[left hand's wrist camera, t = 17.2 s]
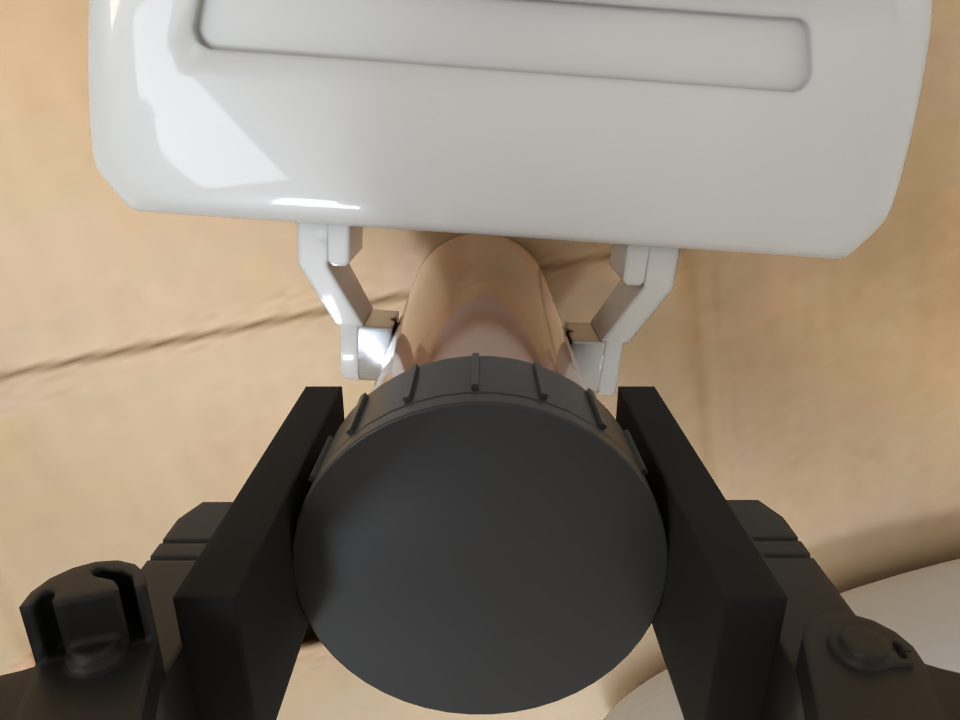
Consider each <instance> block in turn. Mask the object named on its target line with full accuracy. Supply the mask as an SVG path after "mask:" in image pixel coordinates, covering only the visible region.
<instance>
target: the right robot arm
mask: <svg viewBox="0 0 960 720" xmlns="http://www.w3.org/2000/svg"><path fill="white" fill-rule="evenodd" d="M931 23H932V0H89V20H88V92H89V115H90V130H91V143H92V151H93V157H94V161H95V165H96V168H97V170H98V172H99V173H100V174H101V176H102V177H103V178H104V179H105V181H106V182H107V183H108V184H109V185H110V187H111V188H112V189H113V190H114V192H115V193H116V194H117V195H118V196H119V197H120V199H121V200H122V201H123V202H124V203H125V204H126V205H127V206H128V207H129V208H131V209H133V210H135V211H140V212H151V213H166V214H181V215H195V216H210V217H225V218H239V219H254V220H269V221H284V222H297V229H298V264H299V265H300V267H301V269H302V270H303V272H304V274H305V275H306V277H307V278H308V280H309V282H310V283H311V285H312V286H313V288H314V290H315V291H316V293H317V295H318V296H319V298H320V299H321V301H322V303H323V304H324V306H325V307H326V309H327V311H328V312H329V314H330V316H331V317H332V319H333V320H334V322H335V324H338V325H340V333H341V375H342V378H343V379H350V380H376V379H377V377H378V374H379V371H380V369H381V366H382V364H383V361H384V359H385V356H386V353H387V351H388V348H389V346H390V343H391V340H392V338H393V335H394V333H395V330H396V328H397V325H398V322H399V311H387V310H376V309H372V308H373V307H372V306H371V304H370V302H369V300H368V298H367V296H366V294H365V293H364V291H363V289H362V287H361V285H360V283H359V281H358V279H357V278H356V276H355V274H354V272H353V270H352V268H351V266H350V265H349V262H350V261H351V260H352V259H353V258H354V257H355V255H356V254H357V253H358V252H359V251H360V250H361V249H362V234H363V227H372V228H387V229H401V230H416V231H431V232H446V233H460V234H475V235H490V236H505V237H519V238H534V239H549V240H564V241H578V242H593V243H608V244H612V249H611V257H610V266H611V267H612V268H613V269H614V271H615V272H616V273H617V274H618V275H619V276H620V277H621V279H622V280H621V281H620V283H619V284H618V285H617V287H616V288H615V289H614V291H613V292H612V294H611V295H610V296H609V298H608V299H607V300H606V302H605V303H604V305H603V306H602V307H601V309H600V310H599V311H598V313H597V314H596V316H595V317H594V318H593V320H592V321H591V323H569V322H565V326H564V329H565V332H566V334H567V337H568V340H569V342H570V345H571V347H572V350H573V353H574V355H575V358H576V360H577V363H578V365H579V368H580V371H581V373H582V376H583V378H584V381H585V384H586V386H587V389H588V388H590V389H591V390H593V391H594V394H595V395H608V396H612V395H614V393H615V390H616V386H617V379H618V373H619V366H620V359H621V353H622V346H623V343H628V342H629V341H630V339H631V338H632V337H633V336H634V335H635V333H636V332H637V331H638V330H639V329H640V327H641V326H642V325H643V324H644V323H645V321H646V320H647V319H648V318H649V317H650V315H651V314H652V313H653V312H654V311H655V309H656V308H657V307H658V306H659V305H660V303H661V302H662V301H663V300H664V299H665V297H666V296H667V295H668V294H669V293H670V291H671V290H672V288H673V283H674V277H675V272H676V266H677V260H678V255H679V249H680V248H681V249H696V250H711V251H726V252H740V253H755V254H770V255H784V256H799V257H814V258H829V259H839V258H844V257H846V256H848V255H849V254H851V253H852V252H853V251H854V250H856V249H857V248H858V247H859V246H860V245H861V244H862V243H863V242H865V241H866V240H867V239H868V238H869V237H870V236H871V235H872V234H873V233H874V232H875V231H876V230H877V229H878V228H879V227H880V226H881V225H882V224H883V223H884V221H885V220H886V218H887V217H888V214H889V212H890V210H891V208H892V205H893V202H894V199H895V196H896V193H897V190H898V186H899V183H900V179H901V176H902V172H903V168H904V164H905V160H906V156H907V152H908V148H909V144H910V140H911V136H912V131H913V127H914V122H915V118H916V113H917V108H918V103H919V98H920V93H921V88H922V83H923V78H924V72H925V66H926V60H927V54H928V47H929V40H930V33H931Z"/></svg>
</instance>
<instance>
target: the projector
mask: <svg viewBox="0 0 960 720" xmlns="http://www.w3.org/2000/svg"><path fill="white" fill-rule="evenodd" d="M840 595H841V596H842V597H843V599H844V600H845V601H846V603H847V604H848V605H849V607H850V608H851V610H852V611H853V612H854V614H855V615H857V616H860V617H863V618H867V619H870V620H873V621H875V622H877V623H879V624H881V625H883V626H885V627H887V628H889V629H891V630H893V631H895V632H896V633H897V634H899V635H900V636H901V637H902V638H903V639H905V640H906V641H907V642H908V643H909V644H911V645H912V646H913V647H914V649H915V650H916V652H917V653H918V654H919V656H920V657H921V659H922V660H923V662H924V664H927V665H931V666H934V667H937V668H941V669H945V670H949V671H954V672H958V673H960V559H956V560H952V561H947V562H943V563H940V564H936V565H932V566H928V567H925V568H921V569H917V570H914V571H910V572H906V573H902V574H899V575H896V576H892V577H889V578H886V579H883V580H879V581H876V582H873V583H870V584H866V585H863V586H860V587H857V588H854V589H851V590H848V591H845V592H842V593H840ZM604 720H684V717H683V714H682V711H681V708H680V705H679V702H678V699H677V696H676V693H675V691H674V688H673V685H672V682H671V679H670V676H669V673H668V670H667V669H666V670H664V671H662V672H661V673H659V674H657V675H655V676H654V677H652V678H651V679H649V680H648V681H646V682H645V683H643V684H642V685H640V686H639V687H637V688H635V689H634V690H633V691H632V692H630V693H629V694H628V695H627V696H626V697H624V698H623V699H622V700H621V701H619V702H618V703H617V704H616V705H615V706H614V707H613V708H612V710H611V711H610V712H609V713H608V714H607V716H606V717H605V718H604Z"/></svg>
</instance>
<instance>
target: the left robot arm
mask: <svg viewBox="0 0 960 720" xmlns="http://www.w3.org/2000/svg"><path fill="white" fill-rule="evenodd" d="M343 421H344V408H343V395H342V387H306V388H305V389H304V391H303V392H302V394H301V396H300V397H299V399H298V400H297V402H296V404H295V405H294V407H293V408H292V410H291V411H290V413H289V415H288V416H287V418H286V419H285V421H284V423H283V424H282V426H281V427H280V429H279V430H278V432H277V434H276V435H275V437H274V438H273V440H272V442H271V443H270V445H269V446H268V448H267V449H266V451H265V453H264V454H263V456H262V457H261V459H260V461H259V462H258V464H257V465H256V467H255V468H254V470H253V472H252V473H251V475H250V476H249V478H248V480H247V481H246V483H245V484H244V486H243V487H242V489H241V491H240V492H239V494H238V495H237V497H236V499H235V500H234V502H202V503H201V504H200V505H198V506H197V507H195V508H194V509H192V510H191V511H189V512H188V513H187V514H185V515H184V516H182V517H181V518H179V519H178V520H177V522H176V523H175V524H174V526H173V527H172V528H171V530H170V531H169V532H168V534H167V535H166V536H165V538H164V539H163V544H160V545H159V546H158V547H157V549H156V550H155V551H154V553H153V554H152V555H151V560H150V561H147V562H146V563H145V565H144V566H143V567H142V569H139V568H138V567H137V566H136V565H135V564H131V563H127V562H122V561H102V562H94V563H90V564H86V565H82V566H79V567H75V568H72V569H70V570H68V571H65V572H63V573H61V574H59V575H57V576H55V577H52V578H50V579H49V580H47V581H46V582H45V583H43V584H42V585H41V586H39V587H38V588H36V589H35V590H34V591H32V592H31V593H30V594H29V596H28V597H27V598H26V599H25V601H24V602H23V603H22V605H21V606H20V607H19V609H20V612H21V615H22V619H23V622H24V625H25V629H26V632H27V635H28V639H29V642H30V645H31V649H32V652H33V655H34V659H35V662H36V665H35V667H32V668H29V669H26V670H23V671H19V672H15V673H10V674H6V675H2V676H0V720H276V719H277V716H278V713H279V710H280V707H281V704H282V701H283V698H284V695H285V692H286V689H287V686H288V683H289V680H290V677H291V674H292V671H293V668H294V665H295V662H296V659H297V656H298V653H299V650H300V647H301V644H302V641H303V638H304V635H305V632H306V629H307V626H308V620H307V618H306V616H305V614H304V612H303V609H302V607H301V605H300V602H299V598H298V595H297V591H296V586H295V578H294V570H293V561H292V542H293V537H294V532H295V527H296V522H297V519H298V516H299V514H300V511H301V508H302V505H303V503H304V500H305V498H306V496H307V494H308V492H309V489H310V487H311V485H312V483H313V482H311V481H309V480H308V479H309V477H310V475H311V473H312V471H313V468H314V466H315V464H316V462H317V460H318V458H319V456H320V453H321V451H322V449H323V447H324V445H325V443H326V441H327V439H328V437H329V435H330V436H332V437H334V436H335V434H336V432H337V430H338V429H339V427H340V425H341V424H342V423H343ZM616 421H617V422H618V424H619V425H620V426H621V428H622V430H623V431H624V430H626V429H628V431H629V433H630V435H631V437H632V439H633V441H634V443H635V445H636V448H637V450H638V452H639V454H640V456H641V458H642V461H643V463H644V465H645V467H646V469H647V471H648V473H647V474H645V475H644V476H645V478H646V480H647V482H648V484H649V487H650V489H651V491H652V493H653V496H654V498H655V500H656V503H657V505H658V508H659V510H660V513H661V516H662V518H663V521H664V526H665V531H666V536H667V541H668V566H667V574H666V582H665V589H664V592H663V596H662V599H661V603H660V605H659V608H658V610H657V612H656V614H655V617H654V619H653V621H652V625H653V628H654V631H655V634H656V637H657V640H658V643H659V646H660V649H661V652H662V655H663V658H664V661H665V664H666V667H667V670H668V673H669V676H670V679H671V682H672V685H673V688H674V691H675V693H676V696H677V699H678V702H679V705H680V708H681V711H682V714H683V717H684V720H960V673H958V672H954V671H949V670H945V669H941V668H937V667H934V666H931V665H927V664H924V662H923V660H922V659H921V657H920V656H919V654H918V653H917V652H916V650H915V649H914V647H913V646H912V645H911V644H909V643H908V642H907V641H906V640H905V639H903V638H902V637H901V636H900V635H899V634H897V633H896V632H895V631H893V630H891V629H889V628H887V627H885V626H883V625H881V624H879V623H877V622H875V621H873V620H870V619H867V618H863V617H860V616H857V615H855V614H854V612H853V611H852V610H851V608H850V607H849V605H848V604H847V603H846V601H845V600H844V599H843V597H842V596H841V595H840V593H839V592H838V591H837V589H836V588H835V587H834V585H833V584H832V583H831V581H830V580H829V579H828V577H827V576H826V575H825V573H824V572H823V571H822V569H821V568H820V567H819V565H818V564H817V563H816V561H815V560H814V559H813V558H810V553H809V552H808V550H807V549H806V548H805V546H804V545H803V544H802V542H801V541H798V537H797V536H796V534H795V533H794V532H793V530H792V529H791V528H790V526H789V525H788V524H787V522H786V521H785V520H784V518H783V517H782V516H780V515H779V514H777V513H776V512H774V511H773V510H771V509H770V508H769V507H767V506H766V505H764V504H763V503H761V502H760V501H758V500H726V499H725V498H724V496H723V495H722V493H721V491H720V490H719V488H718V487H717V485H716V484H715V482H714V480H713V479H712V477H711V476H710V474H709V473H708V471H707V469H706V468H705V466H704V465H703V463H702V461H701V460H700V458H699V457H698V455H697V454H696V452H695V450H694V449H693V447H692V446H691V444H690V442H689V441H688V439H687V438H686V436H685V435H684V433H683V431H682V430H681V428H680V427H679V425H678V423H677V422H676V420H675V419H674V417H673V416H672V414H671V412H670V411H669V409H668V408H667V406H666V404H665V403H664V401H663V400H662V398H661V397H660V395H659V393H658V392H657V390H656V389H655V387H619V388H618V401H617V413H616Z"/></svg>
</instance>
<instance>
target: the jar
mask: <svg viewBox="0 0 960 720" xmlns="http://www.w3.org/2000/svg"><path fill="white" fill-rule="evenodd" d="M472 353H479V356H496V357H504V358H512V359H517V360H521V361H525V362H529V363H533V364H534V361H537V362H540V363H541V366H542V367H544V368H547V369H549V370H552V371H555V372H557V373H559V374H561V375H562V376H564V377H566V378H568V379H570V380H572V381H573V382H575V383H577V384H578V385H580V386H581V387H582V388H584V389H585V390H587V386H586V384H585V381H584V378H583V376H582V373H581V371H580V368H579V365H578V363H577V360H576V358H575V355H574V353H573V350H572V347H571V345H570V342H569V340H568V337H567V334H566V332H565V329H564V327H563V324H562V322H561V319H560V316H559V314H558V311H557V309H556V306H555V303H554V301H553V298H552V296H551V293H550V291H549V288H548V285H547V283H546V280H545V278H544V275H543V273H542V270H541V269H540V267H539V265H538V263H537V262H536V261H535V259H534V258H533V257H532V255H531V254H530V253H529V252H528V251H527V250H526V249H524V248H523V247H522V246H520V245H519V244H518V243H516V242H514V241H512V240H510V239H508V238H505V237H503V236H490V235H475V234H464V235H461V236H457V237H455V238H453V239H450V240H448V241H446V242H445V243H443V244H441V245H440V246H439V247H437V248H436V249H435V250H434V251H433V252H432V253H431V254H430V255H429V256H428V257H427V258H426V260H425V261H424V263H423V264H422V266H421V268H420V269H419V271H418V274H417V276H416V279H415V281H414V284H413V286H412V289H411V292H410V294H409V297H408V299H407V302H406V304H405V307H404V310H403V312H402V315H401V317H400V320H399V322H398V325H397V328H396V330H395V333H394V335H393V338H392V340H391V343H390V346H389V348H388V351H387V353H386V356H385V359H384V361H383V364H382V366H381V369H380V371H379V374H378V377H377V379H376V382H375V384H374V387H373V389H372V392H373V391H374V390H375V389H377V388H378V387H379V386H381V385H382V384H383V383H385V382H387V381H389V380H390V379H392V378H394V377H396V376H398V375H399V374H401V373H403V372H406V371H408V370H410V369H411V366H412V365H414V364H418V366H421V365H423V364H427V363H431V362H435V361H439V360H443V359H448V358H456V357H464V356H472Z"/></svg>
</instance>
